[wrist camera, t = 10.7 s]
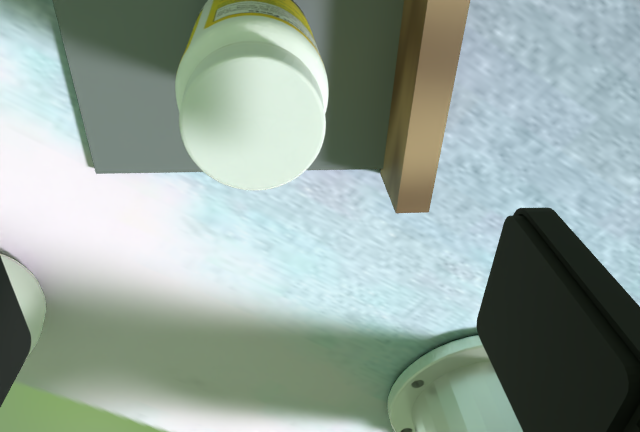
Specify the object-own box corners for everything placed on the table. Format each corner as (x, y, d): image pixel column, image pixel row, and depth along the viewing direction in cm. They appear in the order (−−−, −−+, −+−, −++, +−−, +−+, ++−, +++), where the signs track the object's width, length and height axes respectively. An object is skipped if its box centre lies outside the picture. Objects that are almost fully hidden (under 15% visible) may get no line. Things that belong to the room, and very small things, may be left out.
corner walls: (409, 173, 25) (428, 212, 22) (89, 178, 24) (66, 221, 21) (475, -238, 16) (521, -261, 14) (-29, -274, 15) (-97, -308, 12)
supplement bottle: (250, 119, 22) (247, 230, 15) (169, 36, 20) (122, 123, 13) (335, 48, 21) (373, 136, 14) (257, -50, 19) (258, -3, 12)
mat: (381, 164, 25) (383, 168, 24) (98, 169, 23) (95, 173, 23) (423, -183, 17) (426, -184, 17) (6, -207, 16) (0, -208, 15)
